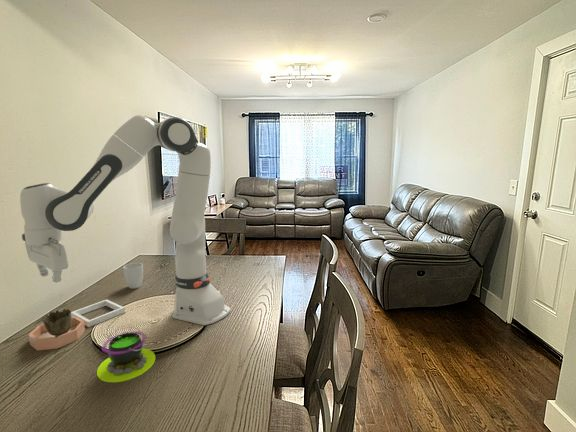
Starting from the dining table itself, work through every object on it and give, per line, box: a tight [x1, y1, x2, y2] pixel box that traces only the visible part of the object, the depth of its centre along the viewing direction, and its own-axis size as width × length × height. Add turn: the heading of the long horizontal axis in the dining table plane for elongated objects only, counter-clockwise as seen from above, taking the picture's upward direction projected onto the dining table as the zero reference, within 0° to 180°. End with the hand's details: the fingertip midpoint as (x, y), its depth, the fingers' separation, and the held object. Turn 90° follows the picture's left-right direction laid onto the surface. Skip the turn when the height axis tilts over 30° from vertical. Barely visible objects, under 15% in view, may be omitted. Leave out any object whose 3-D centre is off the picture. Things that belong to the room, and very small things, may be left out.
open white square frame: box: [70, 299, 126, 328], centre depth 118 cm, size 13×13×2 cm
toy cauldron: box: [96, 325, 156, 383], centre depth 89 cm, size 15×15×11 cm
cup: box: [122, 262, 144, 290], centre depth 144 cm, size 8×8×10 cm
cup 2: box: [42, 308, 72, 337], centre depth 101 cm, size 8×7×8 cm
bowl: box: [28, 317, 86, 351], centre depth 103 cm, size 14×14×4 cm
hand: (50, 278), depth 100 cm, fingers open, 8 cm apart
